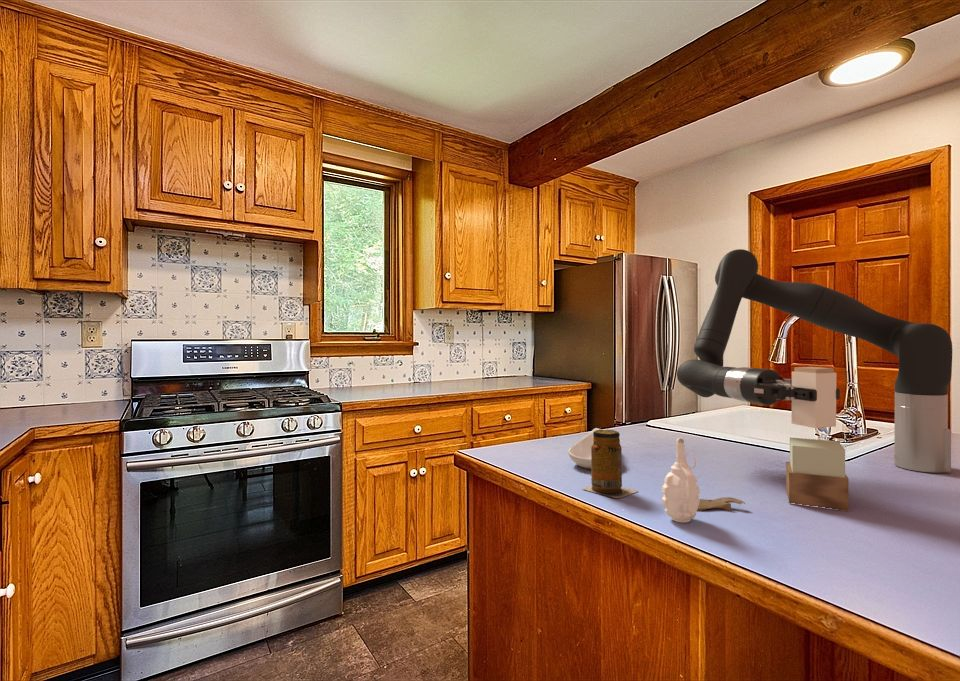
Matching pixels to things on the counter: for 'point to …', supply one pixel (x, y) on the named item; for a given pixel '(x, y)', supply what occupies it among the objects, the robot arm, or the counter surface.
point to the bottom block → (817, 490)
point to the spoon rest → (583, 450)
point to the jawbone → (718, 503)
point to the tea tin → (825, 405)
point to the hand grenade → (681, 488)
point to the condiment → (607, 465)
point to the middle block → (817, 457)
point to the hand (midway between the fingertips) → (826, 394)
